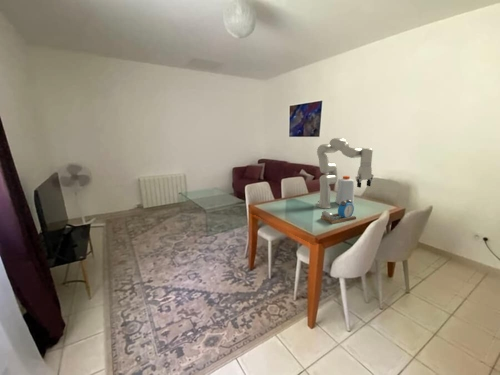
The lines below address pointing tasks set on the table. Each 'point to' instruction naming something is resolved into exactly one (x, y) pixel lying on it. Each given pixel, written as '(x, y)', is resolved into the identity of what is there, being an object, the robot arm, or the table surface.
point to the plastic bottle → (345, 190)
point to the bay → (344, 219)
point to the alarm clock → (346, 209)
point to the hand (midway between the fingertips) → (363, 186)
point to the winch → (328, 217)
